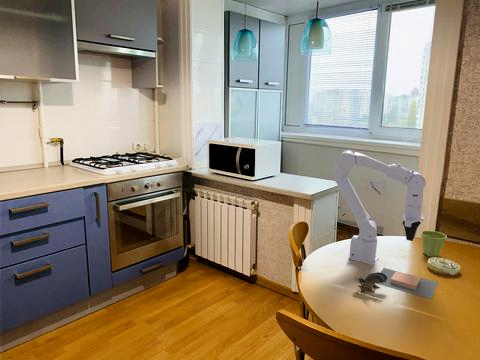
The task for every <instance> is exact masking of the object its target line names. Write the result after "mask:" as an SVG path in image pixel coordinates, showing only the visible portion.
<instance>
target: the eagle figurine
mask: <svg viewBox="0 0 480 360" xmlns="http://www.w3.org/2000/svg"><path fill="white" fill-rule="evenodd" d="M354 279H355V281H356V282H358V283H359V284H360V285H357V287H358V288H360V294H361V293H363V292H365V290H366V289H369V290H371V292H372V293H376V290H375V288H374V287H376V288H379V289H380V288H381V287H380V286H378V284H377V283H384V282H386V280H387V279H388V278H387V276H386V275H385V274H383V273H380V272H378V271H377V272H373V273H368V274H367V276H366V277H365V278H363V277H362V276H355V278H354Z"/></svg>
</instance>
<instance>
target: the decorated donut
mask: <svg viewBox="0 0 480 360" xmlns="http://www.w3.org/2000/svg"><path fill="white" fill-rule="evenodd" d="M426 262H427V263H426V266H427V268H428V270H430V271H432V272H433V273H436V274H439V275H444V276H458V275H459V274H461V273H460V272H461V265H459V264H458V263H457V262H455V261H453V260H451V259H448V258H443V257H437V256H435V257H430V258H428V259H427V261H426Z"/></svg>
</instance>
